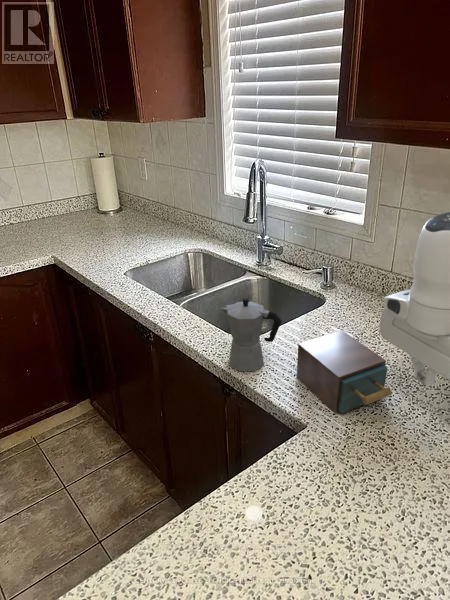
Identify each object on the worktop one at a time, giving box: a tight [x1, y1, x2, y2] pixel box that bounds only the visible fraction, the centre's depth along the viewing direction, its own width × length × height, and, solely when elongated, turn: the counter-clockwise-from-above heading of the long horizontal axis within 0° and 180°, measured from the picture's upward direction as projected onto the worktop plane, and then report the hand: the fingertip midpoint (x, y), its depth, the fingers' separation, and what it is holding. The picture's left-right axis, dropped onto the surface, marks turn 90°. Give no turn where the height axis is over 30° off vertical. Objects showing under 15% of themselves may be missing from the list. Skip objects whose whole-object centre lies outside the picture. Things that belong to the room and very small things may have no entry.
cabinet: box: [296, 330, 387, 415], centre depth 101 cm, size 15×13×10 cm
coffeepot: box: [220, 297, 282, 373], centre depth 109 cm, size 15×9×18 cm, turn 67°
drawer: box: [338, 364, 393, 414], centre depth 98 cm, size 18×11×8 cm, turn 26°
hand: (423, 381), depth 79 cm, fingers closed
